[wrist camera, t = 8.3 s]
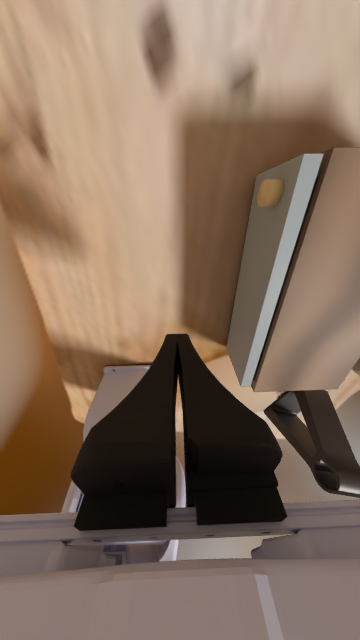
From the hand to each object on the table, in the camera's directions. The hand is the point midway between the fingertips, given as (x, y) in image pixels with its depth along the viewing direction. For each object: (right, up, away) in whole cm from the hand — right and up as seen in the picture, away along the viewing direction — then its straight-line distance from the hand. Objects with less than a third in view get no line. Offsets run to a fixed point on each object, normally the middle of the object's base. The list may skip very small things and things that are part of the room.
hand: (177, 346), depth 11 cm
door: (+6, +5, +7) cm, 11 cm away
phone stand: (+20, -12, +20) cm, 31 cm away
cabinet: (+12, +6, +8) cm, 16 cm away
